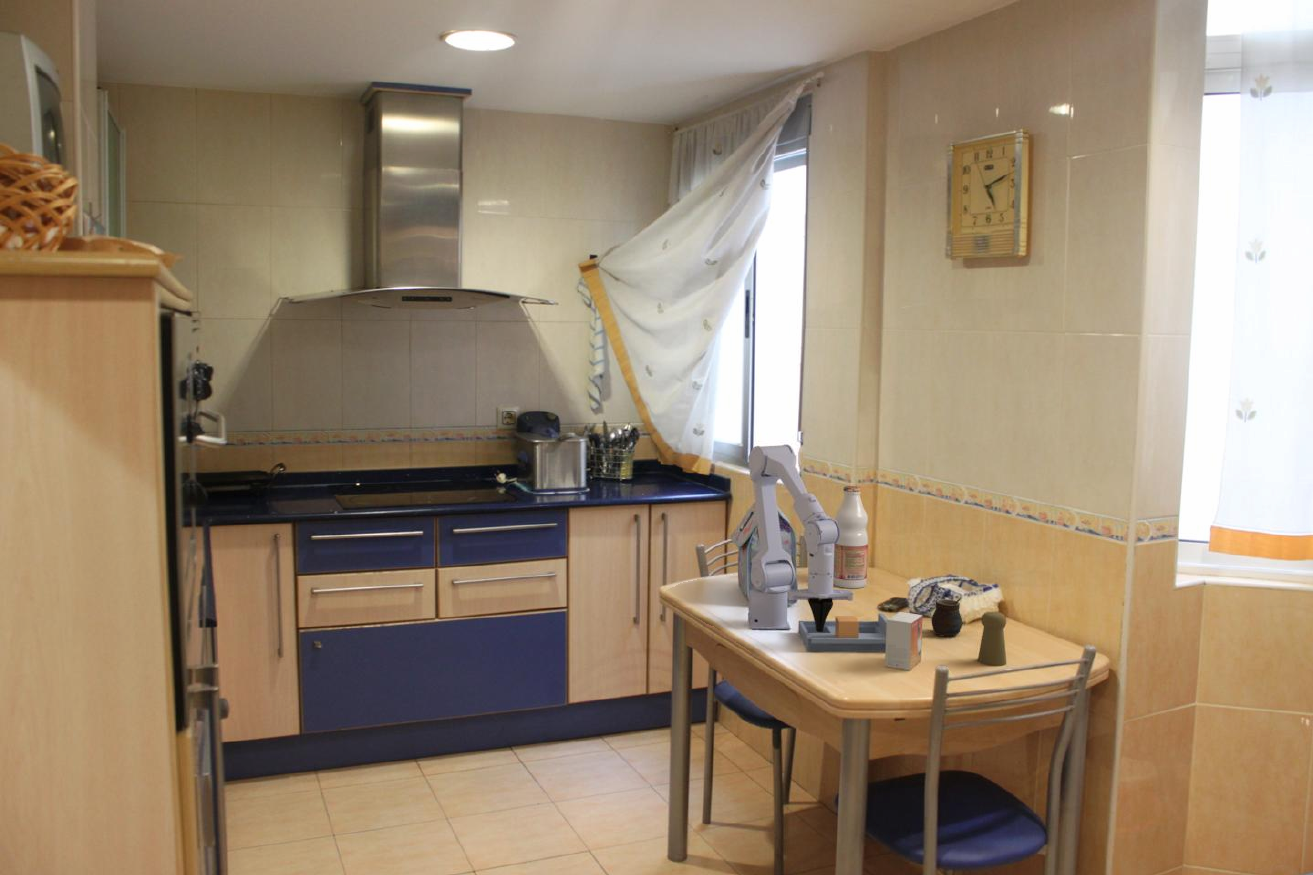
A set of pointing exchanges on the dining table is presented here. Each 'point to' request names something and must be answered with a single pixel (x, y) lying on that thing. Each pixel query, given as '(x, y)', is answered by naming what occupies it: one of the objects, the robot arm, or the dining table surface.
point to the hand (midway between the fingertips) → (819, 630)
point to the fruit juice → (851, 541)
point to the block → (846, 627)
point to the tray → (826, 641)
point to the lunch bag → (750, 547)
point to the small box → (903, 640)
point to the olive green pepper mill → (992, 640)
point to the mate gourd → (947, 618)
